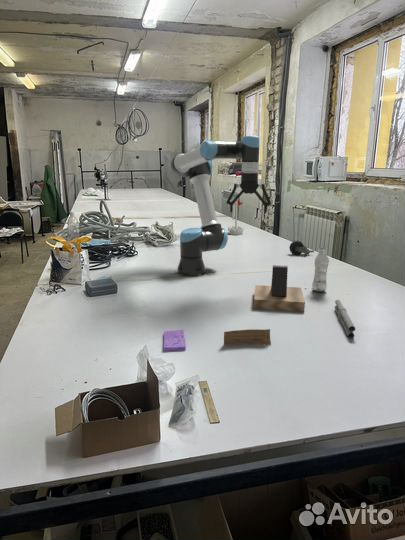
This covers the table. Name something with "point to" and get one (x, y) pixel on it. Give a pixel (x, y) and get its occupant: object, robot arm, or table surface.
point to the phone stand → (279, 281)
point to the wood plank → (247, 337)
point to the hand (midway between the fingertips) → (247, 219)
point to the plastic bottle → (320, 271)
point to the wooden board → (279, 299)
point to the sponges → (174, 340)
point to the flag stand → (234, 229)
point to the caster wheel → (299, 248)
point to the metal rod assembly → (344, 319)
